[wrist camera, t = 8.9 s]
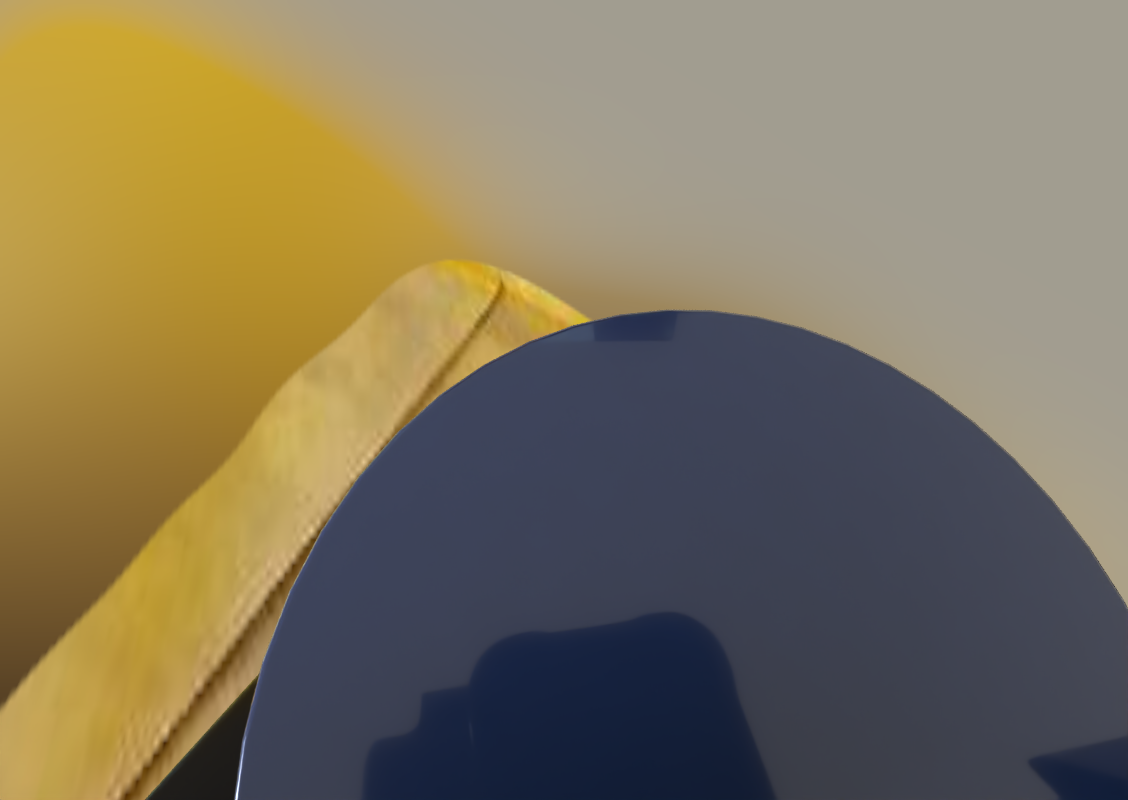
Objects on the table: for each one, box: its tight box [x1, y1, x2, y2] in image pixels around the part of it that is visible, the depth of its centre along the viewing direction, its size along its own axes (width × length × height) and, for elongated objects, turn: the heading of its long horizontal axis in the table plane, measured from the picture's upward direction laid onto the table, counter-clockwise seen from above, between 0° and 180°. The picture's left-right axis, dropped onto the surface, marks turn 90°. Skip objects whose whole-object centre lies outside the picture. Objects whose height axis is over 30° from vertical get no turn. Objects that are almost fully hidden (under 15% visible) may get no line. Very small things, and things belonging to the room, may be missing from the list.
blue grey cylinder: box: [234, 310, 1128, 800], centre depth 9 cm, size 7×7×11 cm
